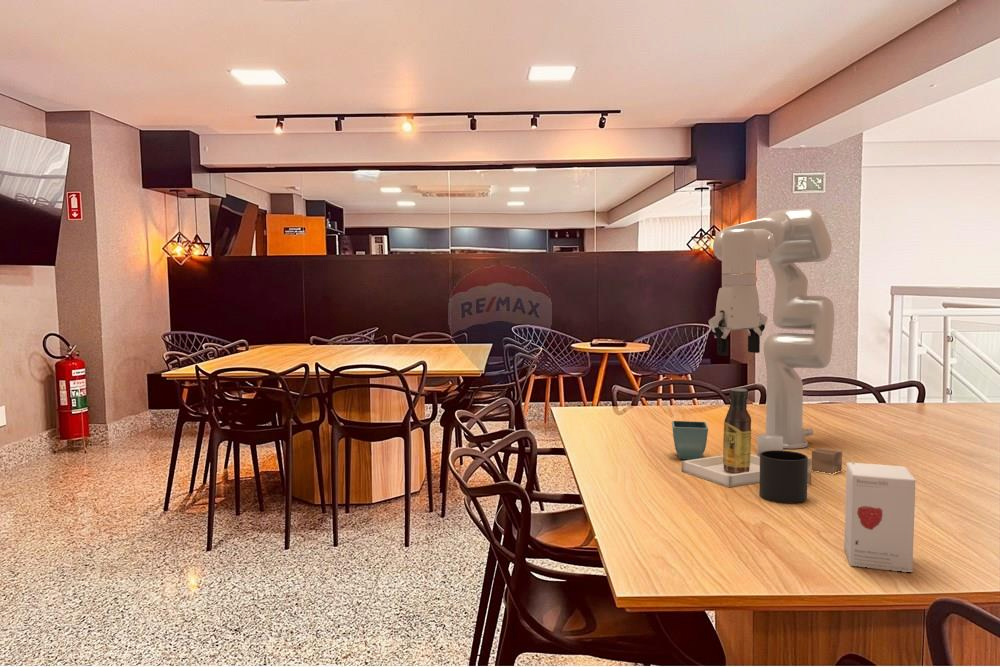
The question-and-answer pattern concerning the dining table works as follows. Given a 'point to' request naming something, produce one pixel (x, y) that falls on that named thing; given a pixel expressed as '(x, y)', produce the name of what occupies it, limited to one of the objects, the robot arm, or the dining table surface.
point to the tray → (722, 471)
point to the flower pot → (690, 438)
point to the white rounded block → (769, 443)
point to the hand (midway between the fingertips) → (738, 353)
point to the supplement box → (879, 516)
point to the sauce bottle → (737, 433)
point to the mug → (783, 476)
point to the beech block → (809, 470)
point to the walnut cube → (826, 460)
